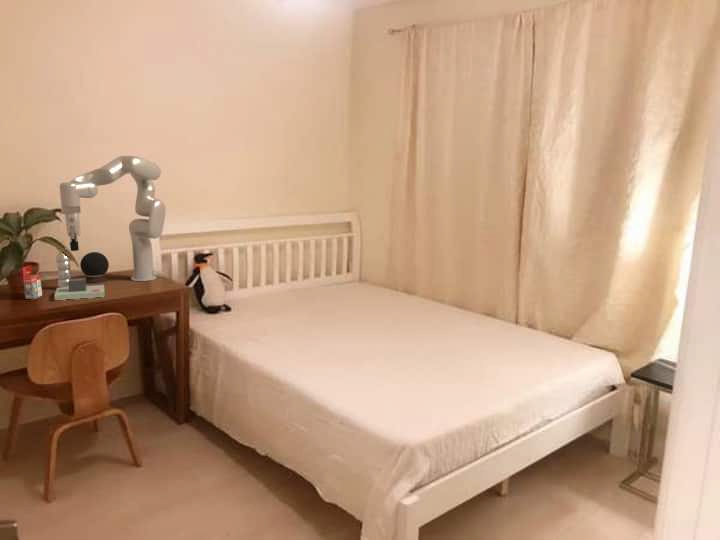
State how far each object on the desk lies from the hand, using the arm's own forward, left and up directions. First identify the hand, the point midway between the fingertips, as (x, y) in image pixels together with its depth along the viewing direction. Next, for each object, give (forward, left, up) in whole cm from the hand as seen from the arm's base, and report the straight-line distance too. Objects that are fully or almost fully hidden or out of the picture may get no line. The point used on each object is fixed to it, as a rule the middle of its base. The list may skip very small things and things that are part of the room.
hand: (74, 250), depth 254 cm
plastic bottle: (+6, -16, -21) cm, 27 cm away
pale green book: (-1, 0, -21) cm, 21 cm away
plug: (0, 0, -21) cm, 21 cm away
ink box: (+18, -2, -21) cm, 28 cm away
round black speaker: (-7, -29, -21) cm, 36 cm away
